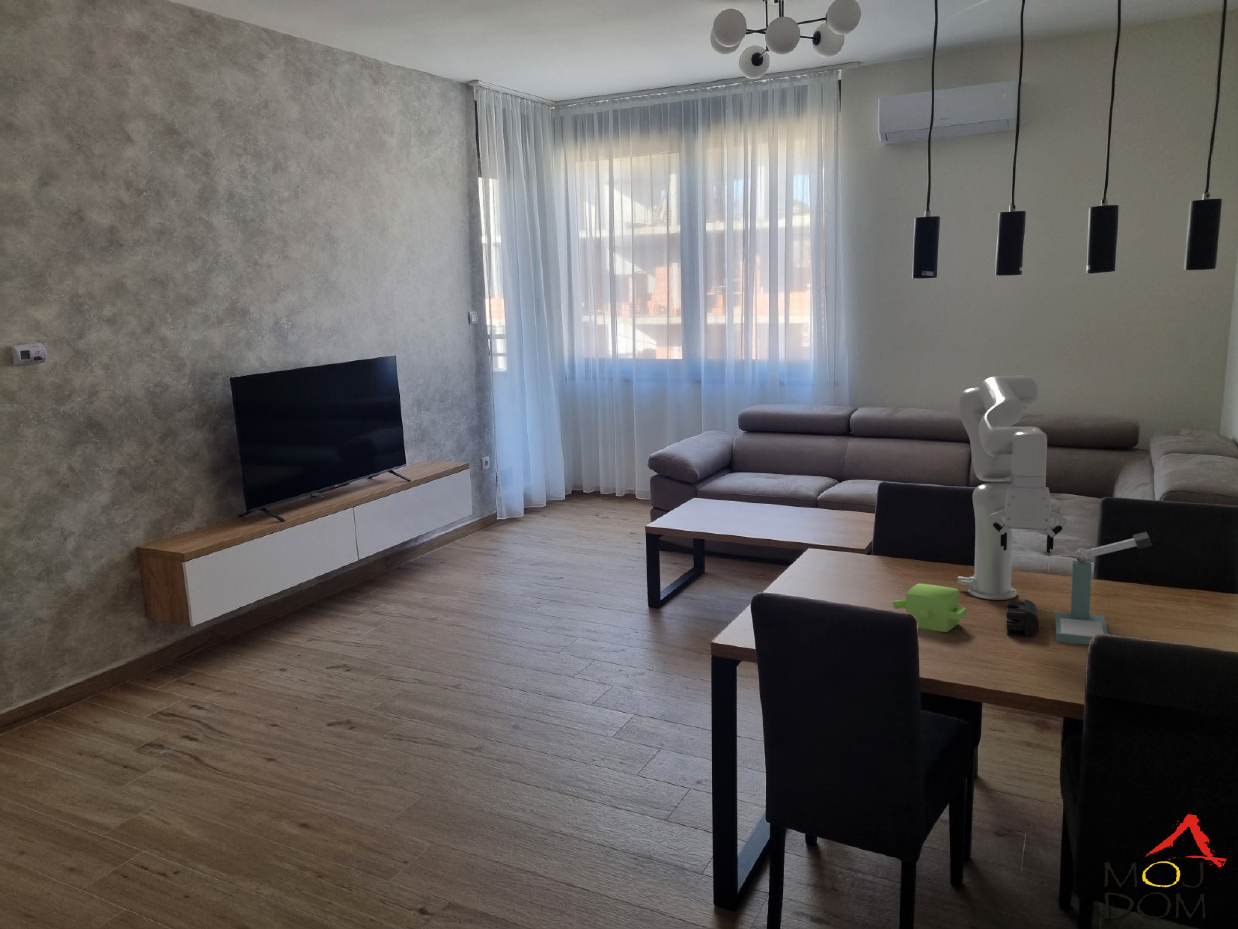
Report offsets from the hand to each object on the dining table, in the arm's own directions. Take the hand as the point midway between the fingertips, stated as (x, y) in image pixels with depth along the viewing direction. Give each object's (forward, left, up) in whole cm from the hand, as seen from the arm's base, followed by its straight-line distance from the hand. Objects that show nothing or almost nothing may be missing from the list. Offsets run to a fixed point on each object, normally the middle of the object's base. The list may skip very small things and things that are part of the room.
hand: (1026, 550), depth 215 cm
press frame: (+13, +3, -21) cm, 24 cm away
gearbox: (-22, -3, -21) cm, 31 cm away
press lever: (+19, +9, -2) cm, 21 cm away
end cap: (0, 0, -21) cm, 21 cm away
